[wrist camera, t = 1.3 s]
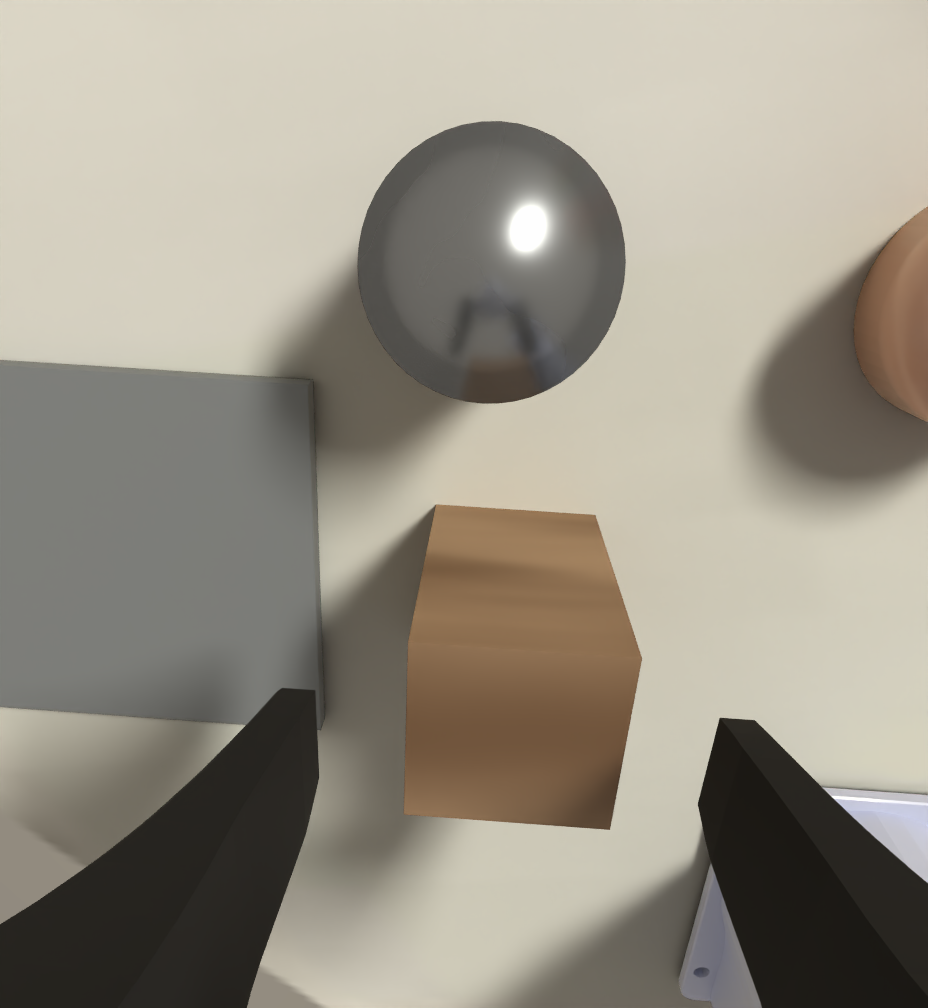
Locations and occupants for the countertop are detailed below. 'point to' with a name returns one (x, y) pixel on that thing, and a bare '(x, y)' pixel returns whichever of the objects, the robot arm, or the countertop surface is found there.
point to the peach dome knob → (897, 320)
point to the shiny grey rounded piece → (491, 262)
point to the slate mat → (157, 542)
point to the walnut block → (518, 671)
